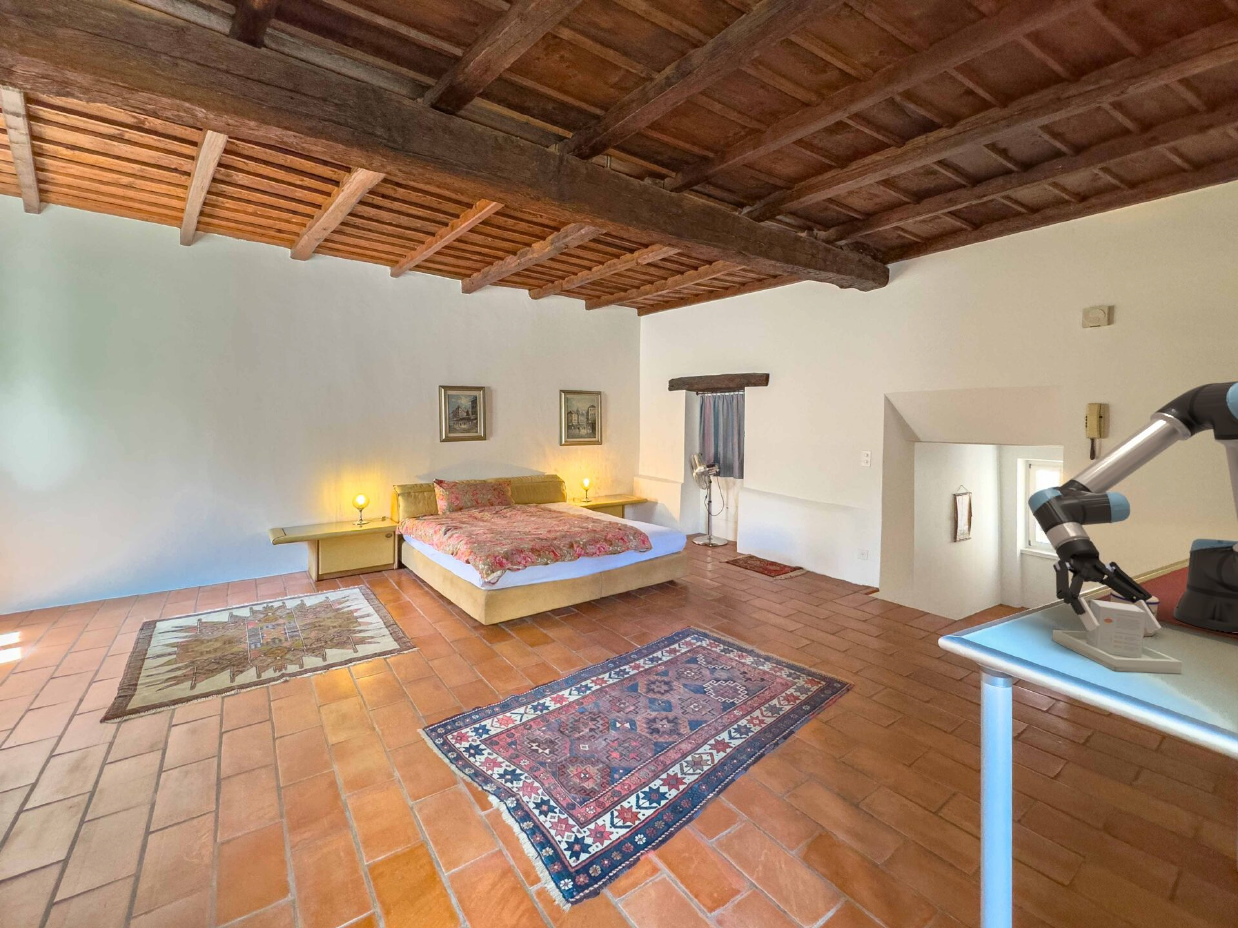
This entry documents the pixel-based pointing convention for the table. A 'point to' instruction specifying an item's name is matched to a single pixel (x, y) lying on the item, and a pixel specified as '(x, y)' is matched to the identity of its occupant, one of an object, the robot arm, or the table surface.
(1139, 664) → the sage tray
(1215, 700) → the table surface
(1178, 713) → the table surface
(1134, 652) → the small box
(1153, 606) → the teacup with lid
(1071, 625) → the table surface
